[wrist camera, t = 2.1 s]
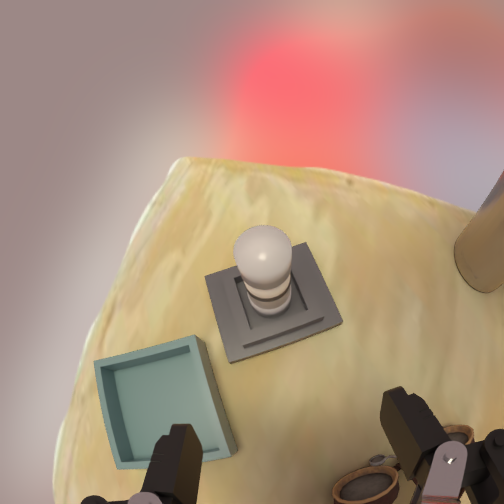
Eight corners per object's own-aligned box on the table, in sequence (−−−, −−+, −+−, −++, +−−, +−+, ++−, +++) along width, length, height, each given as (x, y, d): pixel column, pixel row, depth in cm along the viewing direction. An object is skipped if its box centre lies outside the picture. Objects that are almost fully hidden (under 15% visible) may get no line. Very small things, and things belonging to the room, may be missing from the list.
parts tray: (204, 342, 28) (194, 334, 25) (238, 450, 22) (231, 456, 19) (110, 366, 28) (93, 361, 25) (133, 465, 21) (117, 469, 18)
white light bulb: (282, 275, 30) (279, 218, 22) (297, 309, 28) (300, 263, 19) (245, 287, 30) (227, 235, 21) (257, 323, 28) (242, 283, 19)
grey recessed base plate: (305, 246, 33) (306, 234, 31) (341, 324, 28) (346, 317, 25) (206, 279, 32) (200, 270, 30) (230, 363, 27) (225, 360, 25)
